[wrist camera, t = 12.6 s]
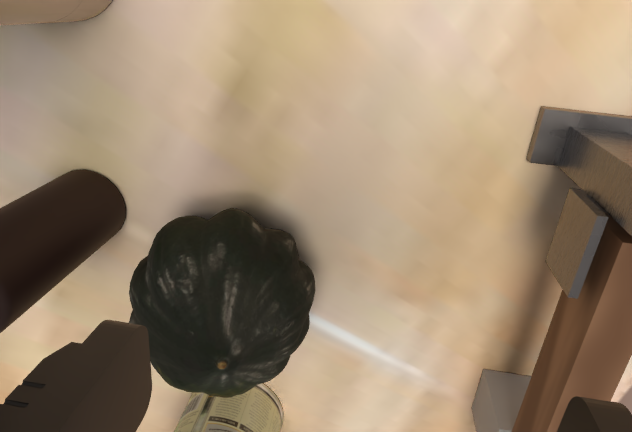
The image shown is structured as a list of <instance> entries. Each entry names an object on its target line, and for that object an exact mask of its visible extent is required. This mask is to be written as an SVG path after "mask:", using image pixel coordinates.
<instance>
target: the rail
mask: <svg viewBox="0 0 632 432" xmlns="http://www.w3.org/2000/svg"><path fill="white" fill-rule="evenodd" d="M604 213H605V214H606V215H607V216H608V217H609V218H608V220H607V223H606V226H605V228H604V231H603V234H602V236H601V239H600V242H599V244H598V247H597V250H596V252H595V255H594V257H593V260H592V263H591V265H590V268H589V271H588V273H587V276H586V279H585V281H584V284H583V286H582V289H581V292H580V294H579V297H578V299H576V298H569V297H567V295H566V294H565V292H564V291H563V290H562V293H561V296H560V299H559V301H558V304H557V307H556V310H555V312H554V315H553V318H552V321H551V324H550V326H549V329H548V332H547V335H546V338H545V340H544V343H543V346H542V349H541V351H540V354H539V357H538V360H537V363H536V365H535V368H534V371H533V374H532V377H531V379H530V382H529V385H528V388H527V390H526V393H525V396H524V399H523V402H522V404H521V407H520V410H519V413H518V416H517V418H516V421H515V424H514V427H513V429H512V432H557V430H558V427H559V425H560V422H561V420H562V418H563V415H564V413H565V410H566V408H567V406H568V403H569V402H570V400H571V399H572V398H573V397H576V396H579V397H585V398H591V399H597V400H604V401H611V399H612V396H613V394H614V392H615V390H616V388H617V386H618V383H619V381H620V379H621V377H622V375H623V373H624V370H625V368H626V366H627V364H628V362H629V360H630V357H631V355H632V236H631V235H630V234H629V233H628V232H627V231H626V230H625V229H624V228H623V227H621V226H620V225H619V224H618V223H617V222H616V221H615V220H614V219H613V218H612V217H611V216H610V215H609V214H608V213H606V212H604Z"/></svg>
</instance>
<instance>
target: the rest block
mask: <svg viewBox="0 0 632 432" xmlns="http://www.w3.org/2000/svg"><path fill="white" fill-rule="evenodd" d="M530 379H531V376H525V375H518V374H512V373H506V372H499V371H493V370H487V369H483V372H482V376H481V379H480V382H479V385H478V389H477V392H476V395H475V399H474V402H473V405H472V413H473V417H474V422H475V427H476V431H477V432H512V429H513V427H514V424H515V421H516V418H517V416H518V413H519V410H520V407H521V404H522V402H523V399H524V396H525V393H526V390H527V388H528V385H529V382H530Z"/></svg>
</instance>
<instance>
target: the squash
mask: <svg viewBox="0 0 632 432" xmlns="http://www.w3.org/2000/svg"><path fill="white" fill-rule="evenodd" d="M314 294H315V280H314V275H313V273H312V271H311V269H310V268H309V267H308V266H307V265H306V264H305V263H304V262H302V261H300V260H299V257H298V252H297V248H296V243H295V241H294V238H293V237H292V236H291V235H290V234H289V233H287V232H284V231H282V230H277V229H263V227H262V226H261V225H260V224H259V223H258V222H257V221H256V220H255V219H254V218H253V217H252V216H251V215H249V214H248V213H247V212H244V211H241V210H239V209H234V208H231V209H227V210H224V211H222V212H220V213H218V214H217V215H215V216H214V217H212V218H211V219H210V220H207V219H205V218H202V217H197V216H185V217H179V218H176V219H175V220H173V221H171V222H169V223H167V224H166V225H165V226H164V227H163V228H162V229H161V230H160V231H159V232H158V233H157V235H156V237H155V239H154V241H153V244H152V247H151V249H150V251H149V254H148V256H147V257H145V258H144V259H143V260H141V262H140V263H139V264H138V266H137V268H136V269H135V271H134V273H133V276H132V279H131V282H130V290H129V295H130V301H131V305H132V308H133V311H132V313H131V316H130V321H129V323H131V324H137V325H143V326H145V327H146V328H147V330H148V335H149V350H150V361H151V363H152V365H153V367H154V368H155V369H156V371H157V372H158V373H159V374H160V375H161V376H162V378H163V379H164V380H165V381H166V382H167V383H168V384H169V385H171V386H173V387H175V388H177V389H181V390H184V391H187V392H193V393H205V394H207V395H211V396H215V397H221V398H230V397H233V396H236V395H241V394H244V393H246V392H247V391H249V390H251V389H252V388H254V387H255V386H256V385H258V384H261V383H265V382H268V381H270V380H271V379H273V378H274V377H276V376H277V375H278V374H279V373H280V372H282V371H283V369H284V368H285V366H286V365H287V363H288V361H289V358H290V355H291V354H292V353H293V352H294V351H295V350H296V349H297V348H298V347H299V345H300V344H301V343H302V341H303V339H304V338H305V336H306V334H307V332H308V329H309V324H310V323H309V311H310V308H311V305H312V302H313V298H314Z"/></svg>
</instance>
